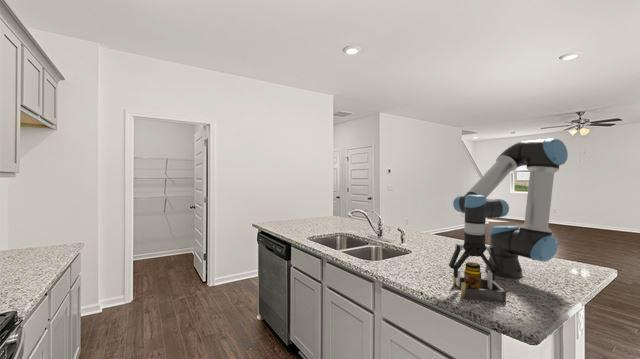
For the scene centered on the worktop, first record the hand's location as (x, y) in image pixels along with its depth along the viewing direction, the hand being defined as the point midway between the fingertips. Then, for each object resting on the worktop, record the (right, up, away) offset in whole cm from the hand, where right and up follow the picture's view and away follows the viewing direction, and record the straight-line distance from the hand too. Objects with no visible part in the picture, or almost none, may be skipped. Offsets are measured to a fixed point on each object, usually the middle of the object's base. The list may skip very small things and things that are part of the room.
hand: (473, 286), depth 116 cm
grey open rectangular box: (+1, -3, 0) cm, 3 cm away
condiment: (0, -3, +1) cm, 3 cm away
